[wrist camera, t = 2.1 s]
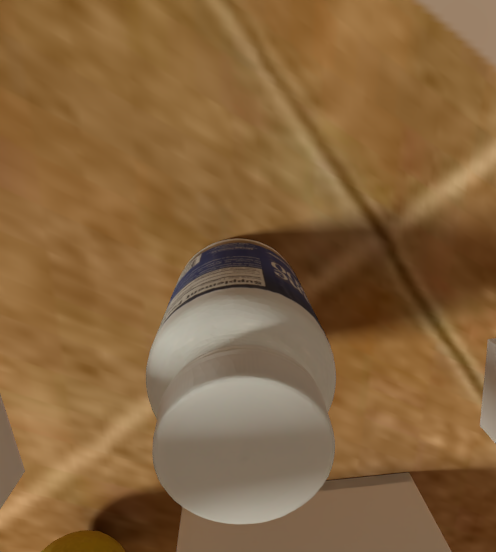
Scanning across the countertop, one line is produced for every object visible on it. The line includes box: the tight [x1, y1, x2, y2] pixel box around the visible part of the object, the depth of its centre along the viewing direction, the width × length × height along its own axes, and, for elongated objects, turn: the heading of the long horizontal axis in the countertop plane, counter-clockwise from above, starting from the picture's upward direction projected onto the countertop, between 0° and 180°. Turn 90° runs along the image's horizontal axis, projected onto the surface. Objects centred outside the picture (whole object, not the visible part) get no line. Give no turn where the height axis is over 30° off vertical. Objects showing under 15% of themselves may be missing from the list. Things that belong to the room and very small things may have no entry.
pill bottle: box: [146, 238, 336, 524], centre depth 13 cm, size 5×5×10 cm
